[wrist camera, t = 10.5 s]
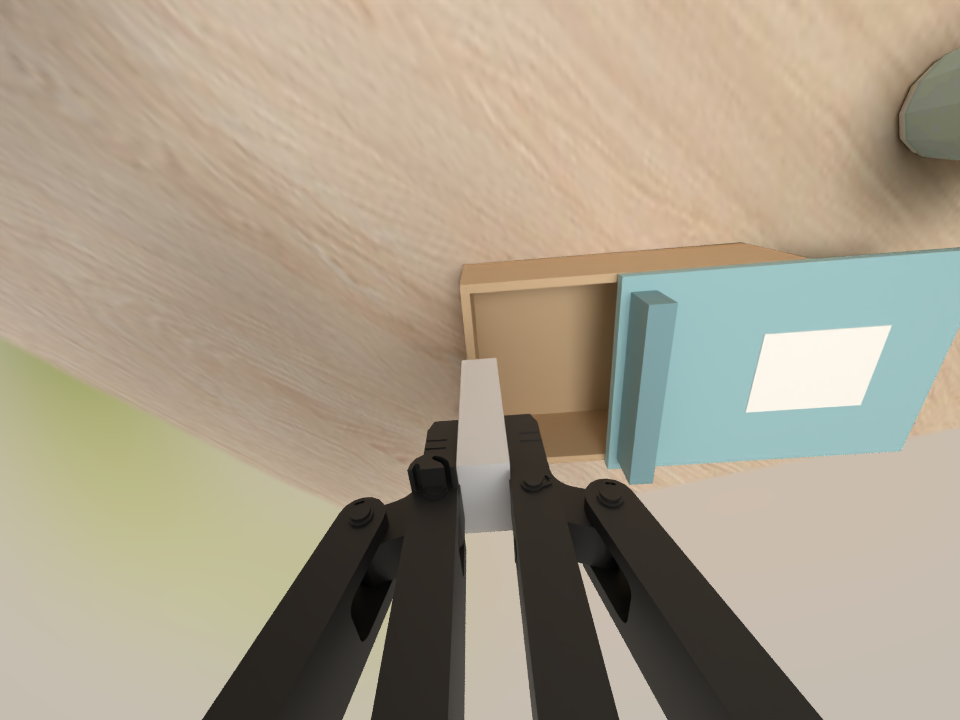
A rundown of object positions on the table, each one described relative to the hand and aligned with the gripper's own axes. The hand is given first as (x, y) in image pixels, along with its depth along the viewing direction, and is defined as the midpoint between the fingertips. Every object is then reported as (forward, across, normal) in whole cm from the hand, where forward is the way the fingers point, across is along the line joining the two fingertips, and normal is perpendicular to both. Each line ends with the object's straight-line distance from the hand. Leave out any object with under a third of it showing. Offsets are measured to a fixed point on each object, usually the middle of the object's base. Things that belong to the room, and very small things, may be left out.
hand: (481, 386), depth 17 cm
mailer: (+16, +10, -6) cm, 20 cm away
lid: (+9, +20, -6) cm, 23 cm away
